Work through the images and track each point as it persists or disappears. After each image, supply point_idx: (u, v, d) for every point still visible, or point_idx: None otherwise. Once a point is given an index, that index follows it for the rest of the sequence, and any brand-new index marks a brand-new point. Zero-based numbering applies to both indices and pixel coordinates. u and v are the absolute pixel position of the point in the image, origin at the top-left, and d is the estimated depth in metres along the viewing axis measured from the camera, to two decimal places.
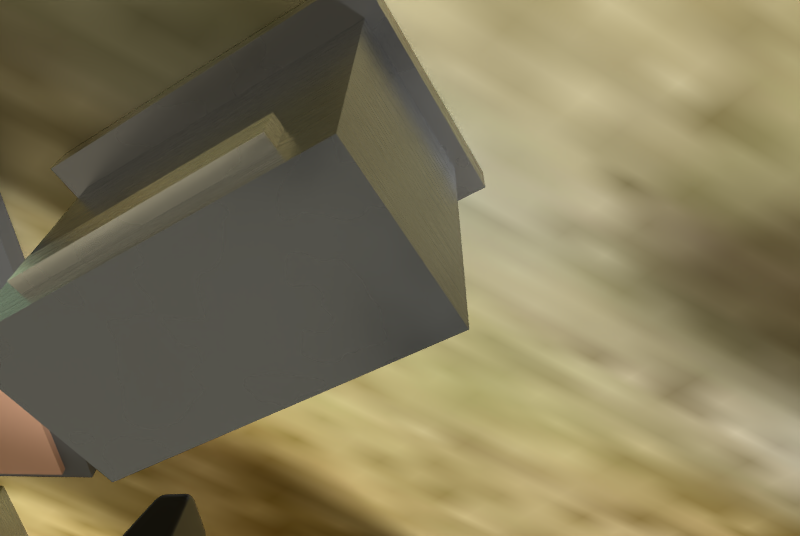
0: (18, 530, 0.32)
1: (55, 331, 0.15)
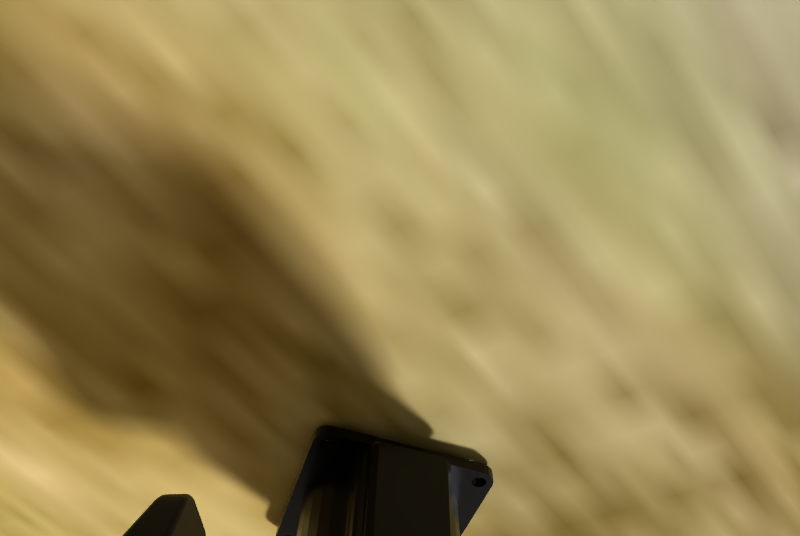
0: None
1: None
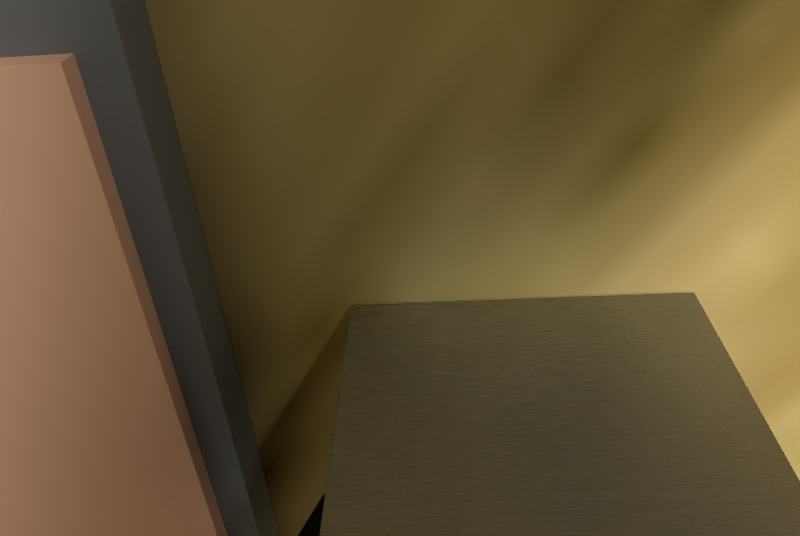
0: (552, 316, 0.09)
1: None
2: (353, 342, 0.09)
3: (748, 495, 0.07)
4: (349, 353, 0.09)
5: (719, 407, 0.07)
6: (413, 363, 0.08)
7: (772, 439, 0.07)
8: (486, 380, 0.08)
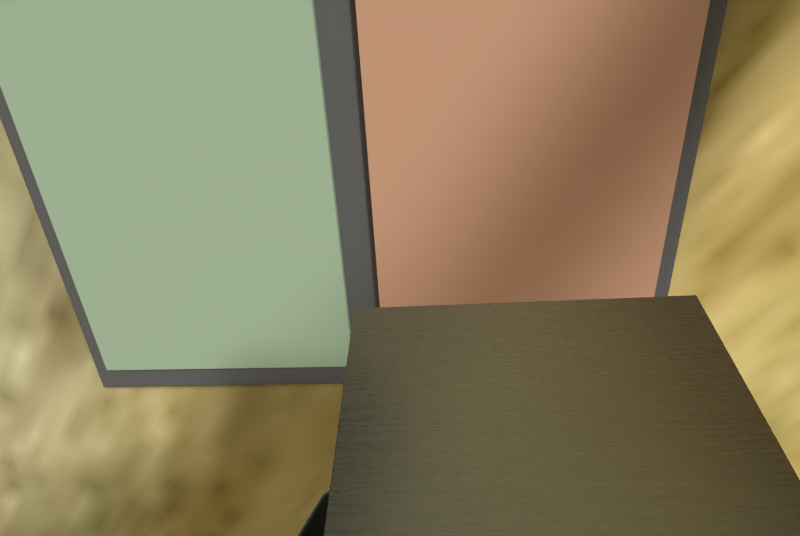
0: (555, 318, 0.09)
1: None
2: (356, 345, 0.09)
3: (751, 498, 0.07)
4: (352, 356, 0.09)
5: (721, 410, 0.08)
6: (416, 366, 0.08)
7: (774, 442, 0.07)
8: (489, 384, 0.08)
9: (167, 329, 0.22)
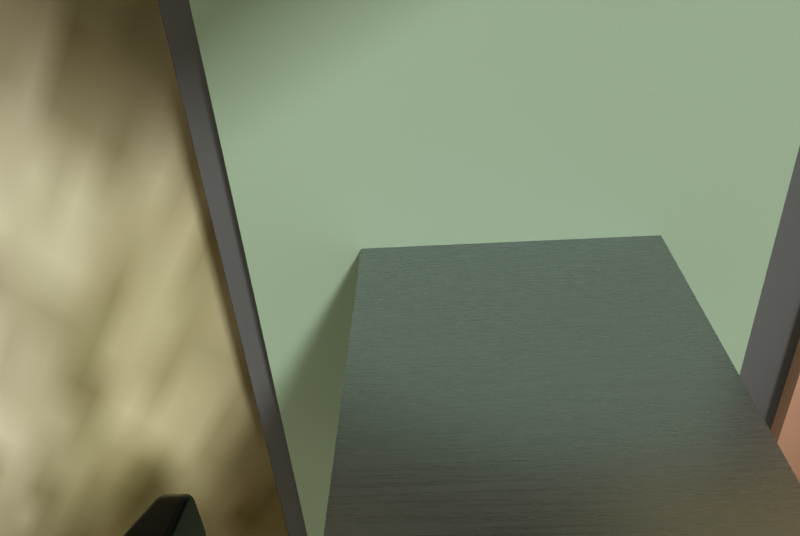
0: (537, 255, 0.10)
1: None
2: (363, 276, 0.10)
3: (694, 384, 0.08)
4: (360, 285, 0.10)
5: (676, 321, 0.09)
6: (416, 292, 0.10)
7: (719, 344, 0.08)
8: (479, 304, 0.09)
9: None
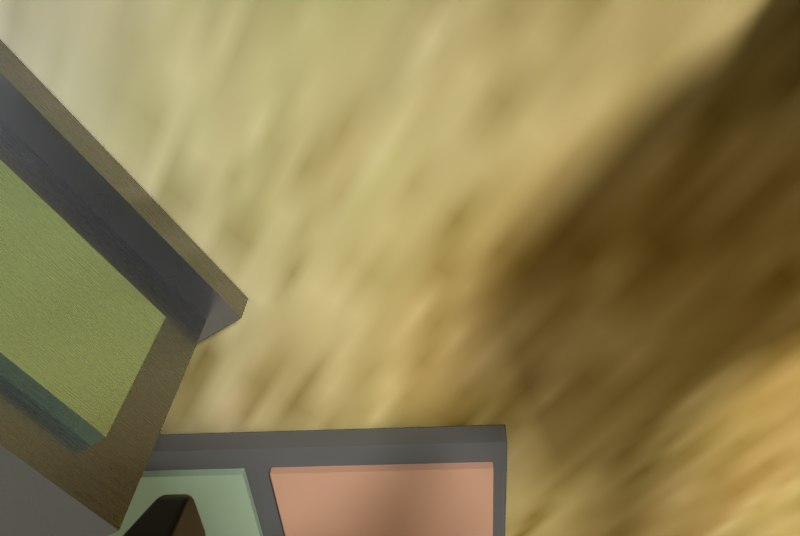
0: None
1: None
2: None
3: None
4: None
5: None
6: None
7: None
8: None
9: None
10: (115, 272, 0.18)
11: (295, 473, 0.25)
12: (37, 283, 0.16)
